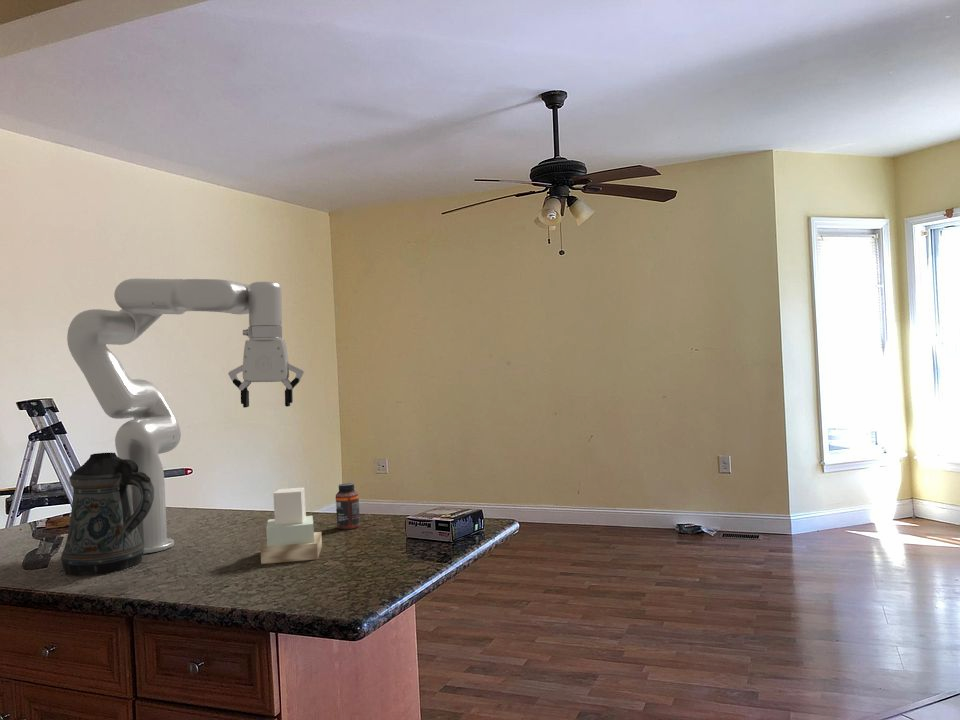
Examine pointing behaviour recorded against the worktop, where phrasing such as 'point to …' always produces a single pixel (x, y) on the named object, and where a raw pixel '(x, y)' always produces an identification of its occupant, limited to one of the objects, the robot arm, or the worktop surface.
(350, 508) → the supplement bottle
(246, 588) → the worktop surface
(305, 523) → the top block
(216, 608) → the worktop surface
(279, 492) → the pillar block
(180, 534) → the worktop surface
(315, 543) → the bottom block
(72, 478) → the beer stein
